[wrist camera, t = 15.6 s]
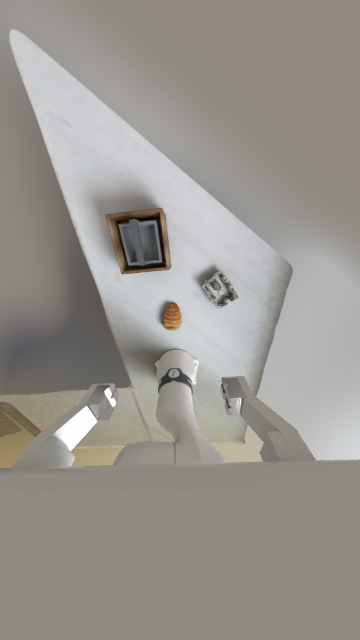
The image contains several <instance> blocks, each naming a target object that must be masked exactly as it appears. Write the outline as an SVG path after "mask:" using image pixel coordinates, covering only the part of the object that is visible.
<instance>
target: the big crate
mask: <svg viewBox="0 0 360 640" xmlns="http://www.w3.org/2000/svg"><path fill="white" fill-rule="evenodd" d="M105 216H106V219H107V223H108V226H109V230H110V234H111V237H112V241H113V245H114V248H115V252H116V255H117V259H118V263H119V266H120V270H121V274H130V273H140V272H151V271H161V270H170V268H171V260H170V251H169V242H168V233H167V224H166V215H165V213H164V211H163V209H162V208H157V209H148V210H140V211H132V212H123V213H115V214H107V215H105ZM131 219H136V220H138V221H139V222H146V221H154V220H157V222H158V223H159V224H160V231H161V239H162V247H163V254H164V262H161V263H151V264H146V265H141V266H139V265H130V266H129V265H128V261H127V257H126V253H125V249H124V245H123V241H122V237H121V233H120V229H119V224H128V223H130V222H129V220H131Z"/></svg>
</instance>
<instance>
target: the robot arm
mask: <svg viewBox="0 0 360 640" xmlns="http://www.w3.org/2000/svg"><path fill="white" fill-rule="evenodd" d="M198 364H199V360H198V359H196V358H193V357H192V356H191V355H190V354H189V353H187V352H185V351H183V350H170V351H168V352H166V353H164V354H163V355H162V357H161V358H160V359H159V360H158V361H156V362H155V366H156V368H157V379H158V381H159V386H158V393H159V396H158V403H157V409H156V417H157V420H158V422H159V423H160V425H161V426H162V427H163V428H164V429H165V430H167V431H168V432H169V433H170V434H171V435H172V436H173V437H174V439H175V442H174V443H170V442H157V441H142V442H136V443H132V444H128V445H126V446H125V447H124V448H123V449H122V451H121V452H120V453H119V455H118V456H117V458H116V460H115V461H114V464H113V465H108V466H107V465H105V466H104V465H103V466H72V464H73V462H74V459H75V455H74V454H73V453H72V452H71V450H72V449H73V448H74V447H75V446H76V445H77V443H78V442H79V441H80V440H81V439H82V438H83V437H84V436H85V435H86V433H87V432H88V431H89V430H90V429H91V428H92V427H93V426H94V425H95V424H96V422H97V421H98V420H109V419H110V417H111V414H112V412H113V406H114V405H115V404H116V402H117V400H118V391H117V390H116V389H115V385H114V384H113V383H110V384H93V385H91V387H90V388H89V390H88V391H87V393H86V394H85V396H84V397H83V398H82V400H81V401H80V403H79V404H78V406H75V407H74V408H72V409H71V410H70V411H68V412H67V413H66V414H65V415H63V416H62V417H61V418H59V419H58V420H57V421H56V422H54V423H53V424H52V425H50V426H49V427H48V428H46V429H45V430H44V431H43V432H41V433H40V434H39V435H37V436H36V437H35V438H34V439H33V440H32V441H31V443H30V444H29V445H28V447H27V448H26V449H25V450H24V452H23V453H22V454H21V456H20V457H19V458H18V459H17V461H16V462H15V463H14V465H13V466H12V467H11V468H0V640H360V460H320V461H316V460H315V458H314V457H313V455H312V453H311V452H310V450H309V449H308V447H307V446H306V444H305V442H304V441H303V439H302V438H301V436H300V435H299V433H298V431H297V430H296V429H295V428H294V427H293V426H291V425H290V424H289V423H288V422H286V421H285V420H284V419H283V418H281V417H280V416H279V415H278V414H277V413H275V412H274V411H273V410H272V409H270V408H269V407H268V406H267V405H265V404H264V403H263V402H262V401H260V400H259V399H258V398H255V397H254V395H253V393H252V391H251V389H250V387H249V385H248V383H247V381H246V379H245V377H244V376H232V377H222V380H221V381H222V384H221V392H222V397H223V399H224V400H225V407H226V411H227V414H228V415H240V416H241V417H242V418H243V419H244V420H245V421H246V423H247V424H248V425H249V426H250V427H251V428H252V429H253V431H254V432H255V433H256V434H257V435H258V436H259V438H260V439H261V440H262V441H263V442H264V444H263V447H262V449H261V451H260V455H261V458H262V460H263V462H234V463H227V462H226V460H225V458H224V457H223V455H222V454H221V453H220V452H219V451H218V450H217V449H216V448H215V447H214V446H213V445H212V444H211V443H210V442H209V441H208V440H207V438H206V437H205V436H204V434H203V433H202V431H201V430H200V428H199V426H198V424H197V421H196V419H195V415H194V410H193V403H192V393H193V384H196V373H197V368H198Z"/></svg>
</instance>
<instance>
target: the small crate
mask: <svg viewBox="0 0 360 640" xmlns="http://www.w3.org/2000/svg"><path fill="white" fill-rule="evenodd" d="M129 222H130V223H128V224H119V229H120V233H121V237H122V241H123V245H124V249H125V253H126V257H127V261H128V265H129V266H130V265H139V266H141V265H146V264H151V263H161V262H164V254H163V247H162V239H161V231H160V224H159V223H158V222H157V220H154V221H146V222H139V221H138V220H136V219H131V220H129Z"/></svg>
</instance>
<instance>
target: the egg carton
mask: <svg viewBox="0 0 360 640" xmlns="http://www.w3.org/2000/svg"><path fill="white" fill-rule="evenodd" d="M215 274H216V272H215V273H213V274H212V275H213V276H212V277H211V278H210V279H209V280H205V281H204V285H203V286H202V287H203V289H204V291H205V292H206V294H207V295H208V297H209V298H210V300H211V301H212V303H213V304H214V305H215V307H216V308H219V309H221V308H222V307H224V306H225V305H227V304H228V303H229V302H230V301H234V300H235V299H237V298H239V297H238V295H237V294H236V292H235V290H234V289H233V287H232V285H231V283H230V282H229V280H228V279H227V277H226V276H225V275H224V274H223V273H222V272H221V271H219V272H217V274H219V275H221V274H222V276H221V281H222V282H223V283H228V284H227V286H226V288H227V289H228V290H229V291H230V292H232V297H230V298H229V297H225V298H224V299H223V303H222V304H220V303H217V302H218V301H217V298H216V297H215V296H211V295H212V293H211V291H210V289H208V288H205V284H207V283H208V282H209V283H210V282H213V281H214V279H215ZM212 288H213V289H214V290H216V291H218V290H219V291H218V295H219V296H223V295H224V293H225V292H224V290H220V289H221V286H220V284H219V283H218V282H216V281H215V282H213V283H212Z"/></svg>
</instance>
